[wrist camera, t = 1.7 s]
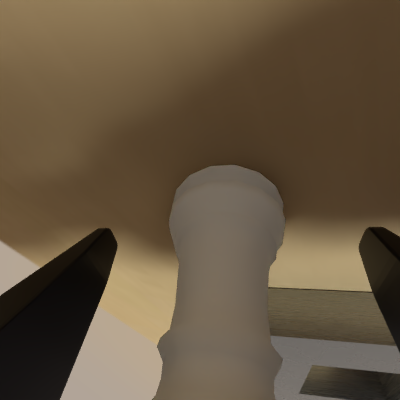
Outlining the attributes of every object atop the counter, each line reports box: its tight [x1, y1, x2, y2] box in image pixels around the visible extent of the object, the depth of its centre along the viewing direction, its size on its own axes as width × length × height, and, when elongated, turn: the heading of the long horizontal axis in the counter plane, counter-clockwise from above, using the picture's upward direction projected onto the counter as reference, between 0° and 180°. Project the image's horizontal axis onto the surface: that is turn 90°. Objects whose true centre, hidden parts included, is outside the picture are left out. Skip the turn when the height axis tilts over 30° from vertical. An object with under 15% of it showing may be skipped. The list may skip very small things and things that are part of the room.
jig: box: [268, 288, 400, 400], centre depth 14 cm, size 14×12×2 cm
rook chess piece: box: [152, 165, 286, 400], centre depth 6 cm, size 4×4×8 cm
